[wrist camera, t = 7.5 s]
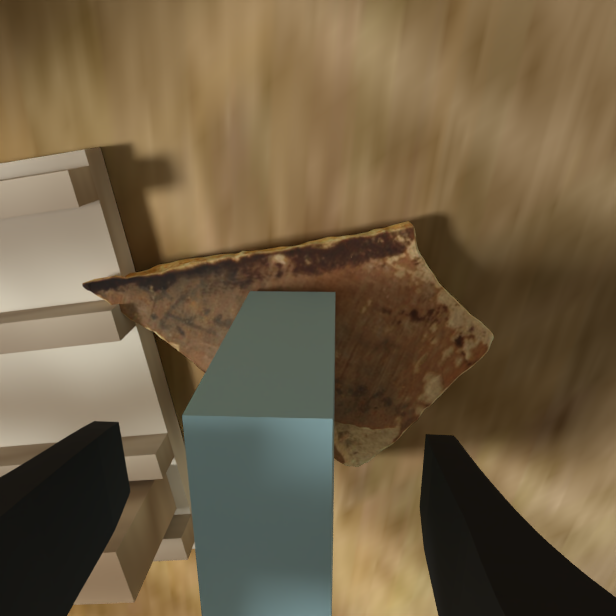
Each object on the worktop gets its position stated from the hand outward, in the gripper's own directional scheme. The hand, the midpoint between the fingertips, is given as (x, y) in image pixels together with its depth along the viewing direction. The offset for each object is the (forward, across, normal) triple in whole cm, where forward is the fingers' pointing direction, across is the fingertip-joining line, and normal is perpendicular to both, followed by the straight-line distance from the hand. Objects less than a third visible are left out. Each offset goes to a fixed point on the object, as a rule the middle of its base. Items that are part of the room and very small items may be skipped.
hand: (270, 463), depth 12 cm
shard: (+6, 0, 0) cm, 6 cm away
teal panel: (+4, 0, +1) cm, 4 cm away
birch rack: (+6, +9, +1) cm, 11 cm away
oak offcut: (+5, +7, +6) cm, 10 cm away
